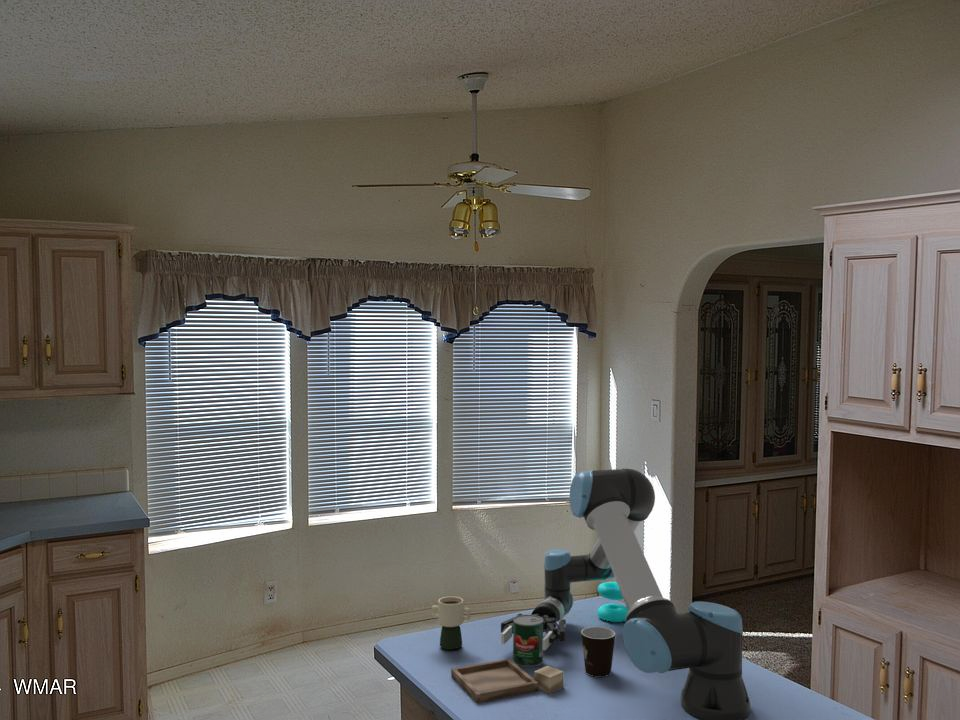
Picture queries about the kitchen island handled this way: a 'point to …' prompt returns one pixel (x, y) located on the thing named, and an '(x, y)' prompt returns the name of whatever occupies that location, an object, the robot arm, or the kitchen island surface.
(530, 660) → the canned tomato
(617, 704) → the kitchen island surface
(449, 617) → the character mug
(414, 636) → the kitchen island surface
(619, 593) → the donuts
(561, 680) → the wooden block
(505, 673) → the tray
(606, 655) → the coffee mug
